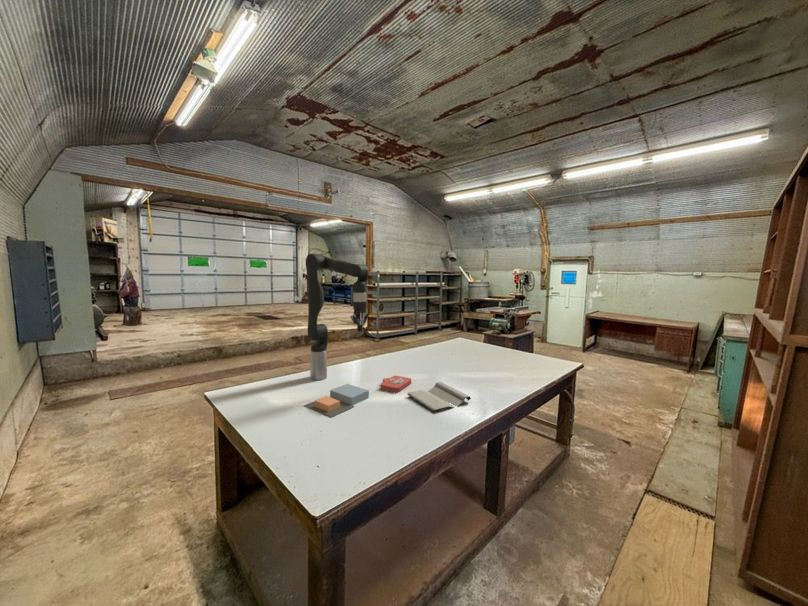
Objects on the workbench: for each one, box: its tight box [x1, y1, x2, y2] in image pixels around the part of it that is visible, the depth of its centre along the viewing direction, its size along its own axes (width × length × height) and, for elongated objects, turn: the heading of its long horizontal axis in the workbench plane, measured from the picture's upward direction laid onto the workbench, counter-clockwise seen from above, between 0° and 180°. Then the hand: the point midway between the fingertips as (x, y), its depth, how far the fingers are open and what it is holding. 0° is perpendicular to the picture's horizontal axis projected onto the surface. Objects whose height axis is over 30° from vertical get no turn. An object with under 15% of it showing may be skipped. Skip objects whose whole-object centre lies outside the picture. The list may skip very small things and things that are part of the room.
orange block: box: [314, 395, 340, 412], centre depth 152 cm, size 10×7×3 cm
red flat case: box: [379, 375, 412, 394], centre depth 182 cm, size 18×4×15 cm
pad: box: [303, 400, 355, 418], centre depth 153 cm, size 20×14×1 cm
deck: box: [329, 383, 370, 406], centre depth 163 cm, size 16×12×4 cm
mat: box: [406, 381, 471, 413], centre depth 162 cm, size 23×24×5 cm
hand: (359, 331), depth 177 cm, fingers closed
